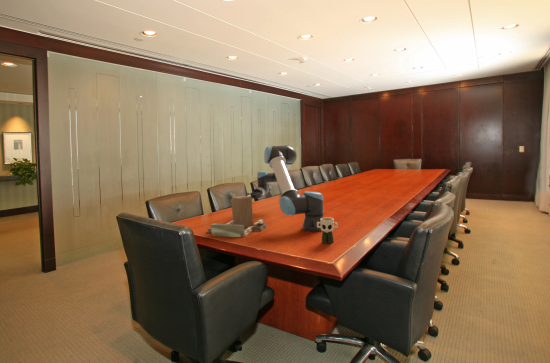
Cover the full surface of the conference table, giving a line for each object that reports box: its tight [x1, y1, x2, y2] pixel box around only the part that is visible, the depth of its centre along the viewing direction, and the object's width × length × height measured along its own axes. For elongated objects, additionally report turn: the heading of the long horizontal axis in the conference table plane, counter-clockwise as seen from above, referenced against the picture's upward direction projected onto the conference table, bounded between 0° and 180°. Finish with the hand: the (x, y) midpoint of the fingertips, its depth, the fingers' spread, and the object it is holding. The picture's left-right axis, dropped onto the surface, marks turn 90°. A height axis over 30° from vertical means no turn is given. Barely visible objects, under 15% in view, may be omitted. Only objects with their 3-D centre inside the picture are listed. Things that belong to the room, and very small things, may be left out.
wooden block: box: [231, 195, 254, 229], centre depth 205 cm, size 10×10×20 cm
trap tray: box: [207, 218, 267, 238], centre depth 200 cm, size 35×33×7 cm
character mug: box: [317, 216, 339, 244], centre depth 163 cm, size 11×7×13 cm, turn 77°
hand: (246, 198), depth 215 cm, fingers closed
